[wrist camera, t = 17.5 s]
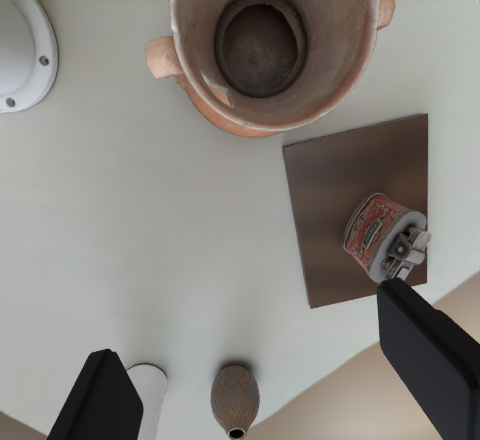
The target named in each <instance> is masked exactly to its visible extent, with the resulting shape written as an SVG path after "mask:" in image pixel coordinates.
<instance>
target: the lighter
mask: <svg viewBox="0 0 480 440" xmlns="http://www.w3.org/2000/svg"><path fill="white" fill-rule="evenodd" d="M426 222H427V221H426V217H425V216H424V215H423V214H422V213H420V212H418V211H416V210H413V209H408V208H406V207H404V206H402V205H400V204H398V203H396V202H394V201H392V200H390V199H388V198H387V196H385V195H384V194H382V193H380V192H371V193H369V194H368V195H367V196H366V197H365V198H364V199H363V201H362V202H361V203H360V204H359V206H358V207H357V209H356V210H355V212H354V213H353V215H352V216H351V218H350V220H349V222H348V225H347V227H346V229H345V232H344V235H343V238H342V241H341V245H342V247H343V248H344V249H345V250H346V251H347V252H348V253H350V254H351V255H352V256H353V257H354V258H355V259H356V260H357V261H358V262H359V263H360V264H361V266H362V267H363V268H364V269H365V270H366V272H367V274H368V276H369V277H370V278H371V279H372V280H373V281H375V282H377V283H381V281H383V280H387V279H391V278H396V277H400V278H401V279H402V280H405V278H406V277H407V275H408V274H409V272H410V270H411V268H412V267H413V265H416V264H420V263H422V261H423V260H424V258H425V253H424V249H425V247H426V246H427V244H428V243H429V241H430V240H431V238H432V235H431V234H430V233H429V232H427V231H425V230H424V229H425V226H426Z"/></svg>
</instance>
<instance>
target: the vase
mask: <svg viewBox="0 0 480 440" xmlns="http://www.w3.org/2000/svg"><path fill="white" fill-rule="evenodd" d="M259 403H260V395H259V389H258V385H257V382H256V380H255V378H254V376H253V375H252V373H251V372H250V371H248V370H247V369H246V368H244V367H241V366H237V365H233V366H229V367H226V368H225V369H223V370H222V371H221V372H220V373H219V374H218V375H217V376H216V378H215V380H214V382H213V385H212V389H211V407H212V411H213V414H214V417H215V419H216V420H217V422H218V423H219V424H220V426H221V427H222V428H223V429H224V430H225V432H226V434H227V436H228V438H229V439H231V440H241V439H243V438H244V437H245V436H246V433H247V430H248V428H249V427H250V426H251V424H252V423H253V421H254V420H255V418H256V416H257V413H258V409H259Z"/></svg>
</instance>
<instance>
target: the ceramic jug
mask: <svg viewBox="0 0 480 440" xmlns="http://www.w3.org/2000/svg"><path fill="white" fill-rule="evenodd" d="M394 10H395V0H169V13H170V25H171V29H172V33H173V36H167V37H161V38H158V39H155V40H151V41H149V42H148V43H147V44H146V48H145V57H146V62H147V64H148V65H149V68H150V70H151V72H152V74H153V75H154V76H155V77H156V78H161V77H167V76H170V75H174V80H175V81H176V82H177V84H179V85H180V86H181V87H182V88H183V89H184V90H185V91H186V92H187V94H188V96H189V98H190V100H191V101H192V103H193V104H194V106H195V107H196V108H197V109H198V111H199V112H200V113H201V114H202V115H203V116H204V117H205V118H206V119H207V120H209V121H210V122H211V123H212V124H214V125H215V126H217V127H218V128H220V129H222V130H224V131H226V132H228V133H231V134H234V135H237V136H242V137H251V138H257V137H267V136H271V135H275V134H278V133H281V132H283V131H285V130H290V129H294V128H298V127H301V126H304V125H307V124H309V123H311V122H313V121H315V120H317V119H319V118H320V117H322V116H323V115H325V114H327V113H328V112H329V111H331V110H332V109H333V108H335V107H336V106H337V105H338V104H339V103H340V102H341V101H342V100H343V99H344V98H345V97H346V96H347V95H348V94H349V93H350V91H351V90H352V89H353V88H354V86H355V85H356V83H357V82H358V81H359V79H360V78H361V76H362V74H363V72H364V71H365V69H366V67H367V65H368V63H369V61H370V58H371V56H372V53H373V50H374V46H375V43H376V40H377V30H380V29H382V28H385V27H386V26H388V25H389V24H390V21H391V19H392V16H393V13H394Z"/></svg>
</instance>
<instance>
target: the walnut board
mask: <svg viewBox="0 0 480 440" xmlns="http://www.w3.org/2000/svg"><path fill="white" fill-rule="evenodd" d="M282 149H283V155H284V161H285V167H286V173H287V179H288V185H289V191H290V197H291V203H292V209H293V214H294V220H295V226H296V232H297V238H298V244H299V250H300V256H301V262H302V268H303V274H304V280H305V286H306V292H307V297H308V303H309V306H310V308H311V309H312V308H317V307H321V306H326V305H330V304H335V303H339V302H344V301H348V300H353V299H357V298H362V297H366V296H371V295H375V294H377V287H378V286H380V284H381V283H377V282H375V281H373V280H372V279H371V278H370V277H369V276H368V274H367V272H366V270H365V269H364V268H363V267H362V266H361V264H360V263H359V262H358V261H357V260H356V259H355V258H354V257H353V256H352V255H351V254H350V253H348V252H347V251H346V250H345V249H344V248H343V247H342V245H341V241H342V238H343V235H344V232H345V229H346V227H347V225H348V222H349V220H350V218H351V216H352V215H353V213H354V212H355V210H356V209H357V207H358V206H359V204H360V203H361V202H362V201H363V199H364V198H365V197H366V196H367V195H368V194H369V193H371V192H380V193H382V194H384V195H385V196H387V198H388V199H390V200H392V201H394V202H396V203H398V204H400V205H402V206H404V207H406V208H408V209H413V210H416V211H418V212H420V213H422V214H423V215H424V216H425V217H426V221H427V199H428V114H418V115H414V116H409V117H405V118H401V119H397V120H393V121H388V122H384V123H380V124H376V125H371V126H367V127H363V128H359V129H354V130H350V131H346V132H342V133H337V134H333V135H329V136H325V137H321V138H316V139H312V140H308V141H304V142H299V143H295V144H291V145H287V146H283V147H282ZM424 230H425V231H427V222H426V226H425V229H424ZM424 253H425V258H424V260H423V261H422V263H420V264H416V265H413V267H412V268H411V270H410V272H409V274H408V275H407V277H406V278H405V280H404V281H405V282H406V283H407V284H408V285H409V286H410V287H412V286H416V285H421V284H425V283H427V246H426V247H425V249H424Z"/></svg>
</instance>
